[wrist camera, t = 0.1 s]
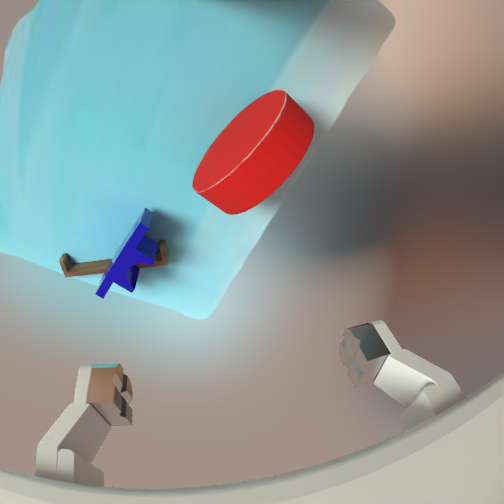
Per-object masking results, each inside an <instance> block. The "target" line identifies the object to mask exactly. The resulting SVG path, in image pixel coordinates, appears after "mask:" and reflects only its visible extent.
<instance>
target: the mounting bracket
mask: <svg viewBox="0 0 504 504" xmlns="http://www.w3.org/2000/svg"><path fill="white" fill-rule="evenodd" d="M152 215H153V212H151V211H150V210H148V209H147V208H145V209H144V211H143V212H142V214H141V215H140V217H139V218H138V220H137V221H136V223H135V224H134V226H133V227H132V229H131V230H130V232H129V233H128V235H127V236H126V238H125V239H124V241H123V243H122V244H121V246H120V247H119V249H118V251H117V252H116V254H115V255H114V257H113V259H112V260H111V262H110V264H109V265H108V267H107V269H106V270H105V272H104V274H103V276H102V278H101V281H100V283H99V286H98V289H97V291H96V295H98V296H100V297H101V298H104V296H105V294H106V293H107V291H108V290H109V288H110V286H111V285H112V283H113V282H114V283H116V284H118V285H119V286H121V287H123V288H125V289H126V290H128V291H130V292H133V291H134V289H135V286H136V282H137V278H138V273H139V268H138V267H137V266H136V265H135V264H138V263H144V264H148V265H150V266H151V265H152V264H153V262H154V260H155V255H156V249H157V244H158V243H157V242H155V241H154V240H152V239H151V238H149V237H147V236H146V235H144V234H145V233H146V231H147V230H148V228H149V226H150V222H151V219H152Z"/></svg>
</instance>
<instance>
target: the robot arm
mask: <svg viewBox="0 0 504 504" xmlns="http://www.w3.org/2000/svg"><path fill="white" fill-rule="evenodd" d="M343 336H344V338H345V339H344V340H343V341H342V342H341V343H340V347H339V354H340V358H341V361H342V363H343V365H344V366H346V367H347V368H349V372H348V375H349V378H350V380H351V382H352V384H353V385H354V388H355V387H359V386H362V385H365V384H369V383H372V382H374V384H375V385H377V386H378V387H379V388H381V389H382V390H383V391H385V392H386V393H387V394H389V395H390V396H391V397H393V398H394V399H395V400H397V401H398V402H399V403H401V404H402V405H404V406H405V407H406V408H407V409H406V410H405V411H404V413H403V414H402V415H401V416H400V419H399V420H400V422H401V424H402V426H403V428H404V430H405V431H404V432H402V433H400V434H398V435H396V436H394V437H391V438H389V439H387V440H384V441H382V442H379V443H377V444H375V445H372V446H370V447H367V448H365V449H362V450H359V451H357V452H354V453H351V454H348V455H345V456H342V457H339V458H336V459H333V460H330V461H327V462H324V463H321V464H317V465H314V466H310V467H307V468H303V469H299V470H295V471H291V472H287V473H283V474H278V475H274V476H269V477H264V478H259V479H253V480H248V481H242V482H235V483H228V484H221V485H211V486H201V487H189V488H167V489H135V488H133V489H132V488H114V487H104V473H103V471H102V470H100V469H99V468H97V467H96V466H94V465H93V464H91V462H92V461H93V459H94V457H95V456H96V454H97V452H98V450H99V449H100V447H101V445H102V443H103V442H104V440H105V438H106V436H107V435H108V433H109V431H110V429H111V426H128V425H132V409H131V407H130V406H129V403H130V402H131V401H132V396H133V395H132V394H133V393H132V386H131V382H130V380H129V378H128V376H127V375H125V374H123V367H122V366H121V364H95V365H94V364H90V365H81V367H80V368H79V372H78V378H77V385H76V391H75V397H74V403H70V404H69V406H68V407H67V408H66V409H65V411H64V412H63V413H62V414H61V416H60V417H59V418H58V419H57V421H56V422H55V423H54V425H53V426H52V427H51V428H50V430H49V431H48V432H47V433H46V435H45V436H44V437H43V439H42V440H41V441H40V442H39V444H38V449H37V450H38V451H37V459H36V472H35V476H32V475H28V474H24V473H20V472H16V471H13V470H9V469H6V468H3V467H0V504H504V372H503V373H502V374H500V375H499V376H497V377H496V378H495V379H493V380H492V381H490V382H489V383H488V384H486V385H485V386H483V387H482V388H480V389H479V390H477V391H476V392H474V393H473V394H471V395H470V396H468V397H467V398H465V396H464V394H463V393H462V391H461V389H460V388H459V386H458V385H457V383H456V381H455V380H454V378H453V377H452V375H451V374H450V373H448V372H446V371H444V370H443V369H441V368H439V367H437V366H435V365H434V364H432V363H430V362H428V361H426V360H424V359H422V358H421V357H419V356H417V355H415V354H414V353H412V352H410V351H408V350H406V349H405V350H402V349H401V347H400V345H399V344H398V342H397V341H396V339H395V338H394V336H393V335H392V333H391V332H390V330H389V329H388V327H387V326H386V324H385V323H384V322H383V321H382V320H378V321H374V322H371V323H365V324H362V325H358V326H354V327H351V328H347V329H346V330H345V331H344V334H343Z"/></svg>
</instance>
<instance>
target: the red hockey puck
mask: <svg viewBox="0 0 504 504" xmlns="http://www.w3.org/2000/svg"><path fill="white" fill-rule="evenodd" d="M313 132H314V124H313V121H312V119H311V118H310V117H309V116H308V115H307V113H306V112H305V111H304V110H303V109H302V108H301V107H300V106H299V105H298V104H297V103H296V102H295V101H294V100H293V99H292V98H291V97H290V96H289V95H288V94H287V93H286V92H285V91H283V90H274V91H271V92H269V93H266V94H265V95H263V96H261V97H259V98H258V99H256V100H255V101H254V102H252V103H251V104H250V105H248V106H247V107H246V108H245V109H244V110H242V111H241V112H240V113H239V114H238V115H237V116H236V117H235V118H234V119H233V120H232V121H231V122H230V123H229V124H228V125H227V126H226V127H225V129H224V130H223V131H222V132H221V133H220V134H219V136H218V137H217V138H216V139H215V141H214V142H213V143H212V145H211V146H210V148H209V149H208V151H207V152H206V154H205V155H204V157H203V159H202V160H201V162H200V164H199V166H198V168H197V170H196V173H195V175H194V179H193V185H192V187H193V190H194V191H195V192H197V193H198V194H199V195H201V196H202V197H204V198H205V199H207V200H208V201H209V202H211V203H212V204H214V205H215V206H216V207H218V208H219V209H221V210H222V211H224V212H225V213H227V214H230V215H233V214H239V213H242V212H245V211H247V210H249V209H251V208H253V207H255V206H256V205H258V204H259V203H260V202H262V201H263V200H265V199H266V198H267V197H268V196H270V195H271V194H272V193H273V192H274V191H275V190H276V189H277V188H278V187H279V186H281V185H282V184H283V182H284V181H285V180H286V179H287V178H288V177H289V176H290V175H291V173H292V172H293V171H294V169H295V168H296V167H297V166H298V164H299V163H300V161H301V160H302V158H303V156H304V155H305V153H306V151H307V149H308V147H309V145H310V143H311V140H312V137H313Z"/></svg>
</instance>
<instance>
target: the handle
mask: <svg viewBox="0 0 504 504" xmlns="http://www.w3.org/2000/svg"><path fill="white" fill-rule="evenodd" d="M111 260H112V259H107V260H100V261H92V262H85V263H77V264H71V263H70V260H69V258H68V255H67V253H65V254H63V255H62V257H61V259H60V261H59V262H60V265H61V267H62V270H63V272H64V275H65V277H72V276H80V275H88V274H96V273H104V272H105V270H106V269H107V267H108V265H109V264H110V262H111ZM135 265H136V266H137V267H138V268H145V267H153V266H161V265H168V253H167V247H166V242H165V240H160V253H156V255H155V260H154V262H153V264H152V265H151V266H150V265H148V264H144V263H138V264H135Z"/></svg>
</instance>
